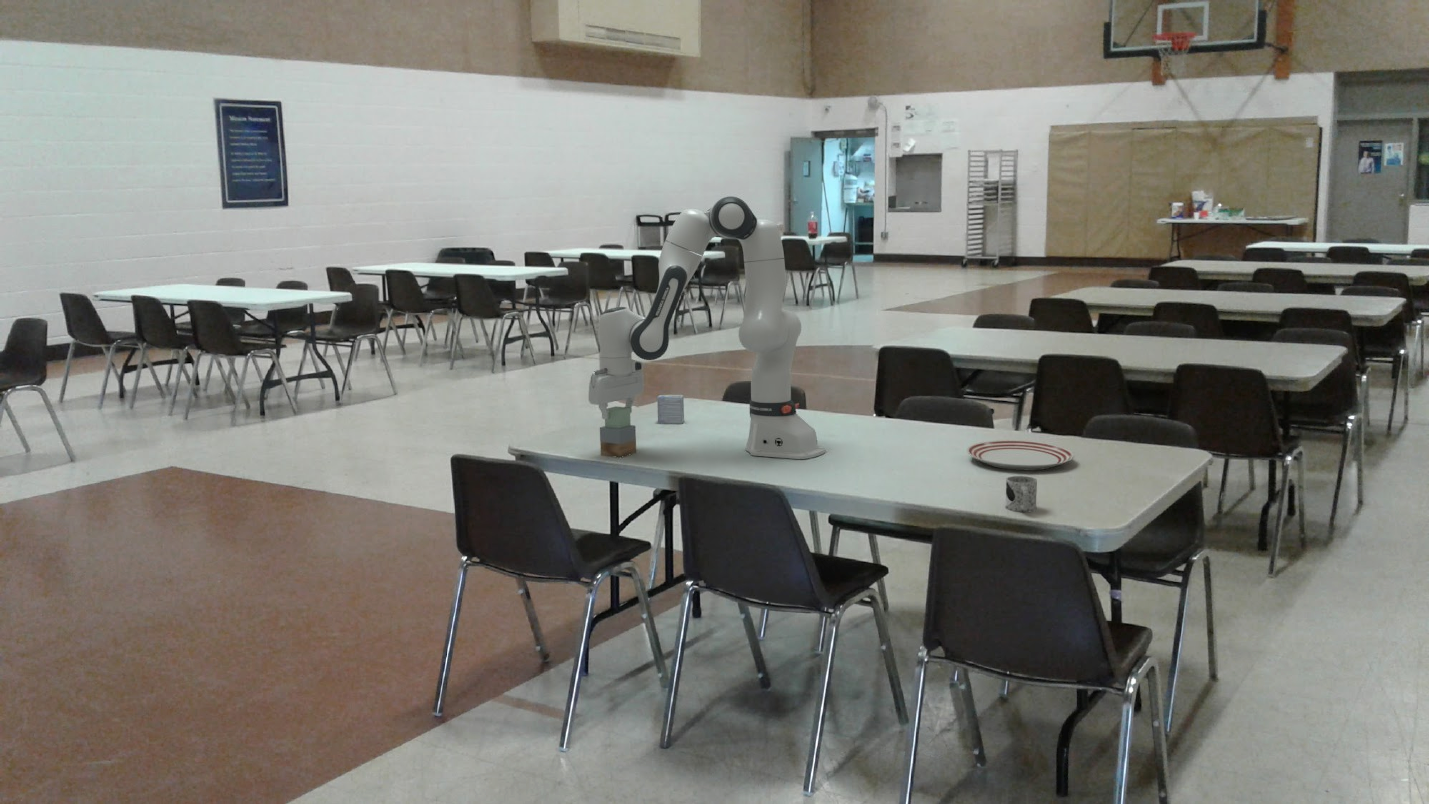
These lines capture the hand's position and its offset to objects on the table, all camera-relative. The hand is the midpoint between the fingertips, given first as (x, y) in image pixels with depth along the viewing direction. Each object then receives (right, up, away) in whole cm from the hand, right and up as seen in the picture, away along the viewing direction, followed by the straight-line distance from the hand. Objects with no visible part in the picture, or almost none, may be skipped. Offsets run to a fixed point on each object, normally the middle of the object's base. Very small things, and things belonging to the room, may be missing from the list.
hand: (617, 416), depth 321 cm
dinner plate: (+108, -12, -14) cm, 109 cm away
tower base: (0, -11, +2) cm, 11 cm away
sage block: (0, -3, +1) cm, 3 cm away
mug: (+96, -21, -61) cm, 116 cm away
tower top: (0, -7, +1) cm, 7 cm away
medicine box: (+13, -3, +45) cm, 47 cm away
